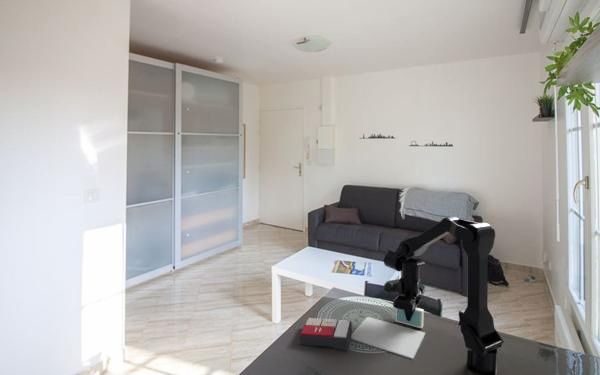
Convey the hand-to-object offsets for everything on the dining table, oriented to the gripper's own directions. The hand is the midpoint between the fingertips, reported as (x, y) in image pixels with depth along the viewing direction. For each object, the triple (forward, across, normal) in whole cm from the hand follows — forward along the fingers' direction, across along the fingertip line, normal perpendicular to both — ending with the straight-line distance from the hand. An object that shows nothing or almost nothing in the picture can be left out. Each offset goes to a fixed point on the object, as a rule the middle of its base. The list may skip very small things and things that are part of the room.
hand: (409, 319), depth 111 cm
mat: (+2, +11, -4) cm, 12 cm away
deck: (+2, 0, 0) cm, 2 cm away
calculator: (+2, +23, -20) cm, 31 cm away
